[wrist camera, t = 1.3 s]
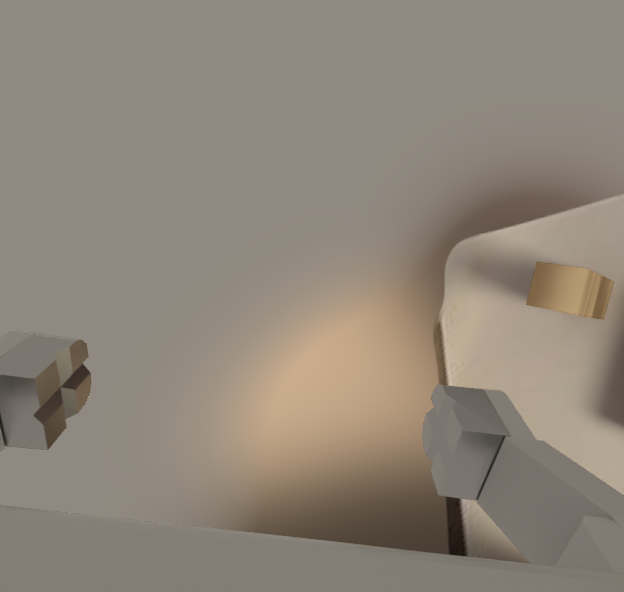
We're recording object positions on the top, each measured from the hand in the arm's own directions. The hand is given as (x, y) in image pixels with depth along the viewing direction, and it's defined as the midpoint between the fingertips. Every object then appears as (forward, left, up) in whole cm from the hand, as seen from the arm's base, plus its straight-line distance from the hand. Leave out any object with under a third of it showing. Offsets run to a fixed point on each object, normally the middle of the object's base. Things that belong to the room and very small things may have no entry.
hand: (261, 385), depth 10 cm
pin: (+3, -5, -40) cm, 40 cm away
